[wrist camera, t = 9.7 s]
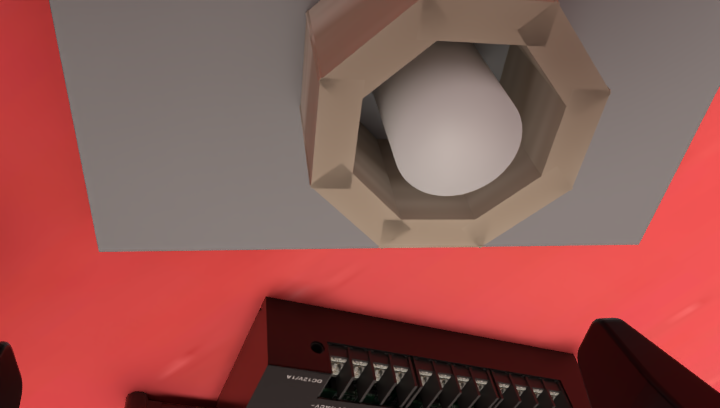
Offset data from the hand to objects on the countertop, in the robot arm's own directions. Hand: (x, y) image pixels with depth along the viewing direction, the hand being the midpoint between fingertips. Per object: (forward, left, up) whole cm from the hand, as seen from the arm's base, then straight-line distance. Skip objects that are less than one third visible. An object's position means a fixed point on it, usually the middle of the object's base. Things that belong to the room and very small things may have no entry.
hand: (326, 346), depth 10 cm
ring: (0, -4, -10) cm, 11 cm away
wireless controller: (-18, -4, -12) cm, 22 cm away
